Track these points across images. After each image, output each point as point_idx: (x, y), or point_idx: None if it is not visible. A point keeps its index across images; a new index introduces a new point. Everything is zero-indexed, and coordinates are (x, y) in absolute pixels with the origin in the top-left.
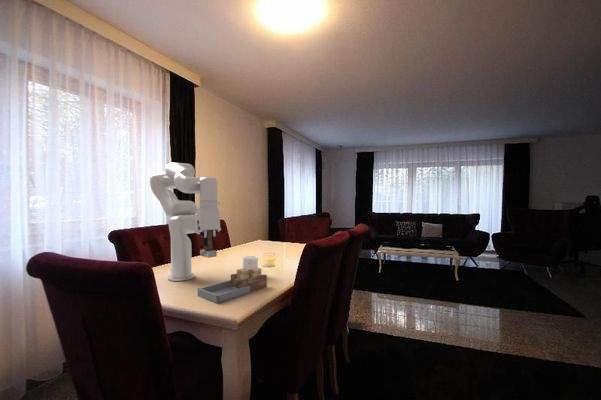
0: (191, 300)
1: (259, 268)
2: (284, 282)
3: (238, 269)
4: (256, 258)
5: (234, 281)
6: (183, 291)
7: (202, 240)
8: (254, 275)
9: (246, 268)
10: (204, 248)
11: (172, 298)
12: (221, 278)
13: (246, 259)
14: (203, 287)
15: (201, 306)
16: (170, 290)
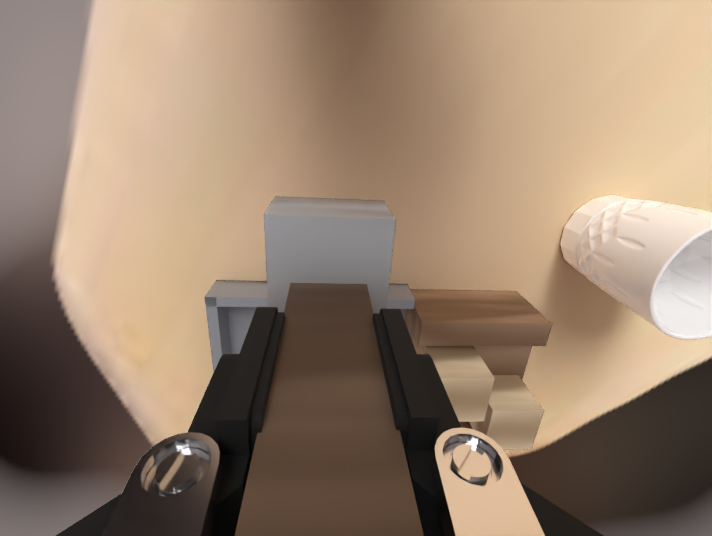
0: (167, 310)
1: (530, 440)
2: (580, 410)
3: (452, 379)
4: (700, 338)
5: (410, 334)
6: (190, 152)
7: (203, 410)
8: (472, 425)
9: (598, 271)
10: (288, 298)
11: (99, 215)
12: (502, 102)
13: (648, 304)
14: (237, 303)
15: (171, 392)
16: (132, 58)
